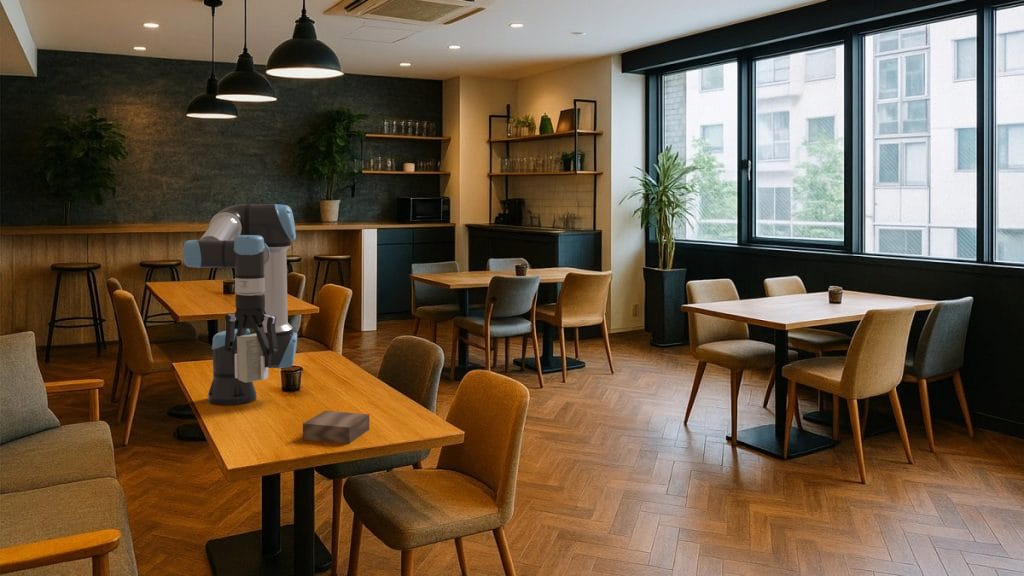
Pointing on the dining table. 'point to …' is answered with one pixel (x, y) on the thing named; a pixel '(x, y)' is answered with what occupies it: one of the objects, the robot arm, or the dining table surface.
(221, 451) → the dining table surface
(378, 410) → the dining table surface
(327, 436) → the plate
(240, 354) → the skincare box
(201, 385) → the dining table surface
